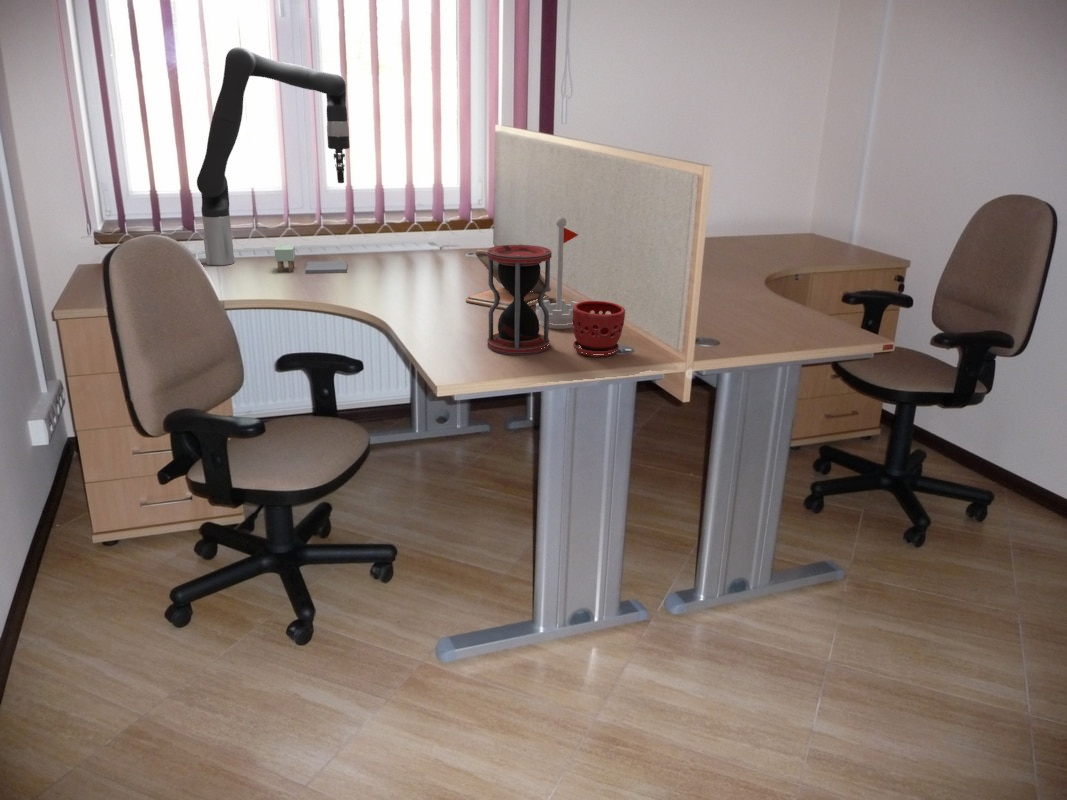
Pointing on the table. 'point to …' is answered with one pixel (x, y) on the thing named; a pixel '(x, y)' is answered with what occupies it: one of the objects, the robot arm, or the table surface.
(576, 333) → the plant pot
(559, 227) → the flag stand
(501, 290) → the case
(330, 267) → the mat
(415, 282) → the table surface
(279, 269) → the mint green toy brick
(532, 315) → the hourglass
